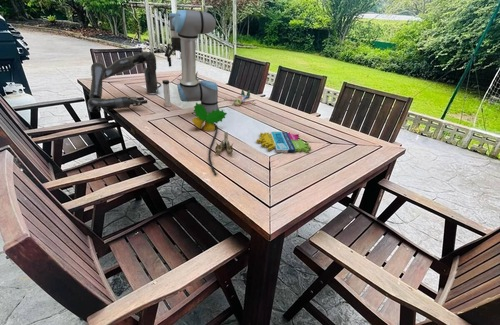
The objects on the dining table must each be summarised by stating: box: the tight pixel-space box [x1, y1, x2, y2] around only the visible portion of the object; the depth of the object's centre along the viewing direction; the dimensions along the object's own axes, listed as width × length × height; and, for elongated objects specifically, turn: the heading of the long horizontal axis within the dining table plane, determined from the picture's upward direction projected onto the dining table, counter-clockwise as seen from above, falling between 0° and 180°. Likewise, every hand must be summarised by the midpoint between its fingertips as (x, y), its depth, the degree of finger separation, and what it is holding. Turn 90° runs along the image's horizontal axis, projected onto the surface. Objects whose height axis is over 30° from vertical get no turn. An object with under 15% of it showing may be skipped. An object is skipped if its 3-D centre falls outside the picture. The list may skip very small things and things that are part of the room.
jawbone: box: [214, 131, 234, 156], centre depth 136 cm, size 9×15×10 cm
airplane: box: [177, 71, 204, 83], centre depth 255 cm, size 38×32×10 cm
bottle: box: [162, 83, 172, 107], centre depth 195 cm, size 4×4×18 cm
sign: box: [256, 131, 312, 154], centre depth 152 cm, size 26×2×30 cm
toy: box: [223, 89, 257, 106], centre depth 219 cm, size 28×7×30 cm
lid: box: [161, 79, 170, 85], centre depth 191 cm, size 5×5×2 cm
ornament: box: [191, 101, 228, 132], centre depth 162 cm, size 21×8×15 cm, turn 105°
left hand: (145, 100), depth 188 cm, fingers open, 8 cm apart
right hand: (178, 67), depth 203 cm, fingers open, 13 cm apart
